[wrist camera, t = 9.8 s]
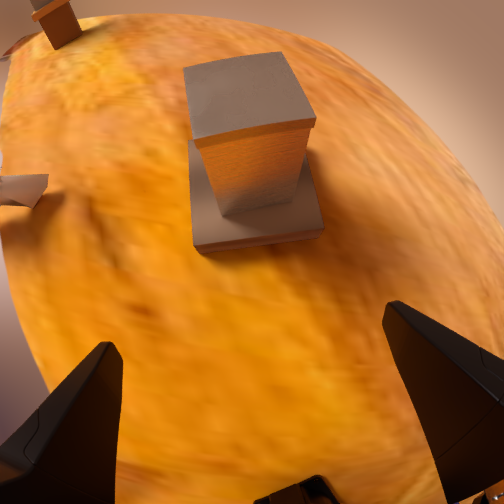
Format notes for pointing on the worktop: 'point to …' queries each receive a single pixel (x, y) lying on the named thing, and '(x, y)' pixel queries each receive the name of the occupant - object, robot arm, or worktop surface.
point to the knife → (56, 21)
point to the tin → (249, 128)
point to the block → (250, 214)
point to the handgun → (22, 189)
